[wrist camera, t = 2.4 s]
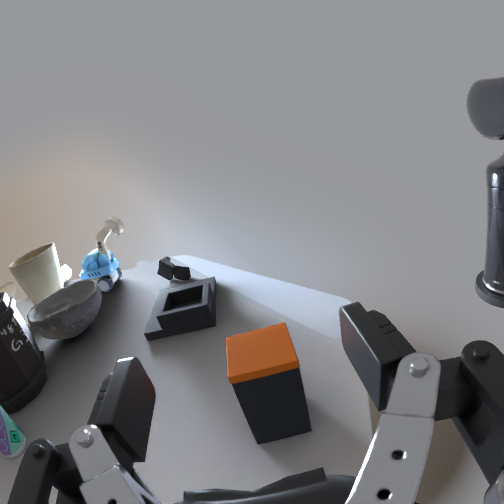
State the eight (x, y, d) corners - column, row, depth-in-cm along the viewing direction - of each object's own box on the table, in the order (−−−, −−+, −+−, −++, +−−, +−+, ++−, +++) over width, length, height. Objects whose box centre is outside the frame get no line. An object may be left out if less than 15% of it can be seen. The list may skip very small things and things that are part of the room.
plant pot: (35, 308, 74) (13, 259, 68) (75, 289, 80) (55, 239, 75) (30, 327, 61) (3, 271, 56) (77, 305, 68) (52, 248, 63)
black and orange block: (300, 393, 31) (284, 322, 27) (312, 431, 26) (298, 360, 22) (251, 406, 31) (225, 337, 27) (257, 444, 26) (227, 377, 22)
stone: (32, 291, 90) (26, 278, 88) (55, 276, 100) (50, 264, 98) (56, 293, 81) (49, 279, 79) (81, 276, 91) (76, 262, 89)
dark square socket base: (216, 282, 63) (210, 265, 61) (216, 325, 48) (208, 304, 46) (161, 296, 63) (155, 279, 61) (147, 340, 48) (137, 321, 46)
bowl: (94, 301, 68) (81, 272, 65) (125, 317, 57) (110, 282, 54) (36, 337, 56) (20, 308, 53) (54, 365, 45) (33, 329, 42)
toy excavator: (134, 287, 71) (109, 220, 65) (82, 298, 72) (57, 238, 66) (145, 272, 79) (123, 211, 73) (95, 283, 80) (73, 228, 74)
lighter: (189, 285, 71) (194, 267, 68) (185, 289, 69) (189, 271, 66) (161, 269, 72) (164, 252, 69) (156, 273, 70) (159, 256, 67)
